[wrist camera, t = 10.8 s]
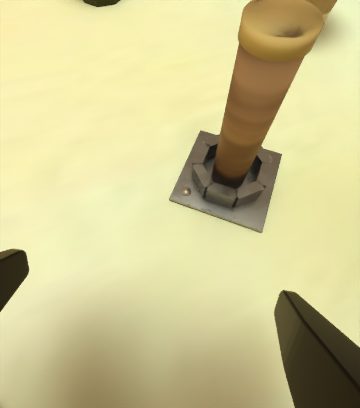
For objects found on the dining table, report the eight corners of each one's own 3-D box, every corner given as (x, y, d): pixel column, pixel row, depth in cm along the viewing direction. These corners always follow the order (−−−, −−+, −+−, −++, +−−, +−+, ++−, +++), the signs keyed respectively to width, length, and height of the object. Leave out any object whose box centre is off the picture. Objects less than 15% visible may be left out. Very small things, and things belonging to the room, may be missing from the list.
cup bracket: (280, 156, 26) (291, 140, 23) (260, 232, 22) (271, 223, 20) (200, 132, 28) (201, 115, 25) (169, 200, 24) (167, 188, 21)
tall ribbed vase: (245, 193, 24) (328, 42, 10) (208, 189, 24) (240, 37, 10) (246, 163, 25) (319, -3, 11) (212, 159, 25) (243, -7, 12)
